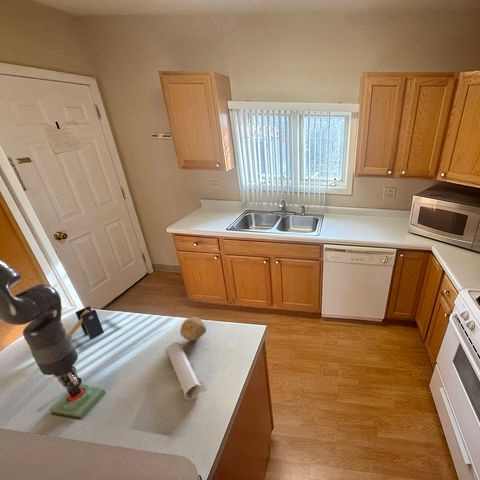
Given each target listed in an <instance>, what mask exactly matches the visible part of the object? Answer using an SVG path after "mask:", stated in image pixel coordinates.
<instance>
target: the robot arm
mask: <svg viewBox="0 0 480 480" xmlns="http://www.w3.org/2000/svg"><path fill="white" fill-rule="evenodd" d="M21 279H22V274H21V273H20V272H19V271H18V270H17V269H15V268H14V267H13V266H12V265H10V264H9V263H8V262H6V261H5V260H4V259H2V258H1V257H0V320H2V321H3V322H4V323H7V324H10V325H12V326H13V325H14V326H22V325H23V326H24V325H25V327H24V328H23V330H22V336H23V338H24V340H25V341H26V343H27V345H28V347H29V350H30V353H31V355H32V358H33V359H34V361H35V363H36V365H37V366H38V368H39V370H40V372H41V373H42V375H45V376H54V377H55V378H56V380H57V382H58V383H60V385H61V386H63V388H64V389H65V390H66V391H67V392H68V393H69V395H70V396H71V397H75V396H76V395H78V394H79V393H80V392H81V390H80V388H79V386H80V385H82V382H83V380H82V378H81V377H79V375H78V373H77V367H76V366H75V364H76V362H77V361H78V358H79V355H78V352H77V349H76V348H75V346H74V343H73V341H72V340H71V339H70V337H69V336H68V335H67V334H68V333H67V331H66V329H65V327H64V325H63V322H62V299H61V296H60V293H59V291H58V290H57V289H55V288H54V287H53V286H52V285H49V284H44V283H39V284H35V285H32V286H30V287H28V288H26V289H25V290H23V291H21V292H18V293H17V294H15V295H14V294H13V293H12V292H11V288H12V287H14V286H15V285H16V284H18V283H19V282H20V281H21Z"/></svg>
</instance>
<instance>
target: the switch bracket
mask: <svg viewBox="0 0 480 480" xmlns="http://www.w3.org/2000/svg"><path fill="white" fill-rule="evenodd" d="M85 310H88V311H90V312H88V313H86V314H83V315H81V314H82V313H83V312H84V311H85ZM75 315H76V318H77V320H78V321H79V320H80V319H81V318H82V321H83V323H82V324H81V325H80V327H81V330H82V332H83V334H84V336H85V337H87V336H88V338H89V340H94V339H95V338H97V337H99V336H100V335H103V334H104V333H105V332H104V329H103V326H102V323H101V321H100V318H99V315H98V312H97V310H96V309H92V307H91V306H90V305H88V306H86V307H84V308H81V309H79V310H76V311H75ZM80 315H81V317H80Z"/></svg>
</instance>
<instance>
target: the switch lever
mask: <svg viewBox="0 0 480 480" xmlns="http://www.w3.org/2000/svg"><path fill="white" fill-rule="evenodd" d="M88 312H90V311H88V310H85V311H84V312H83V313H82V314H81V315H83V314H86V313H88ZM81 315H80V317H81ZM82 323H83V321H82V318H81V319H80V320H78V321H77V322H76V324H75V325H74V326H73V327H72V328H71V329H70V331H69V332H68V333H67V335H68V336H69V337H70V339H71V341H72V340H73V339H72V336H73V335H75V332H76V331H77V330H78V329H79V328H80V327H81V324H82Z"/></svg>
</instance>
